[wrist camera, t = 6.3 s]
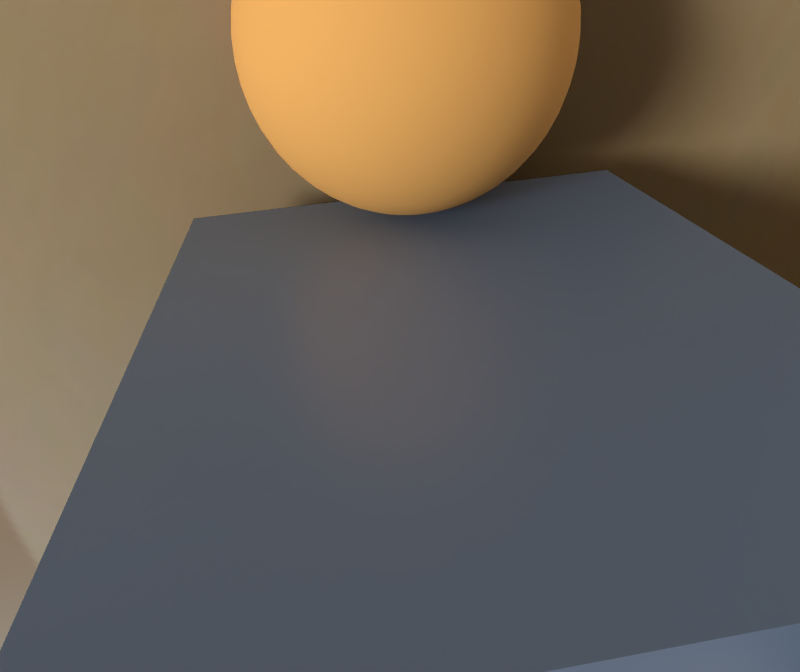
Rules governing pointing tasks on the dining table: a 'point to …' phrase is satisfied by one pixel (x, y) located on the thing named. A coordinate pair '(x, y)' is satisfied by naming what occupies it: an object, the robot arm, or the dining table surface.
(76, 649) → the matte slate cube
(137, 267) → the dining table surface
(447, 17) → the ball
